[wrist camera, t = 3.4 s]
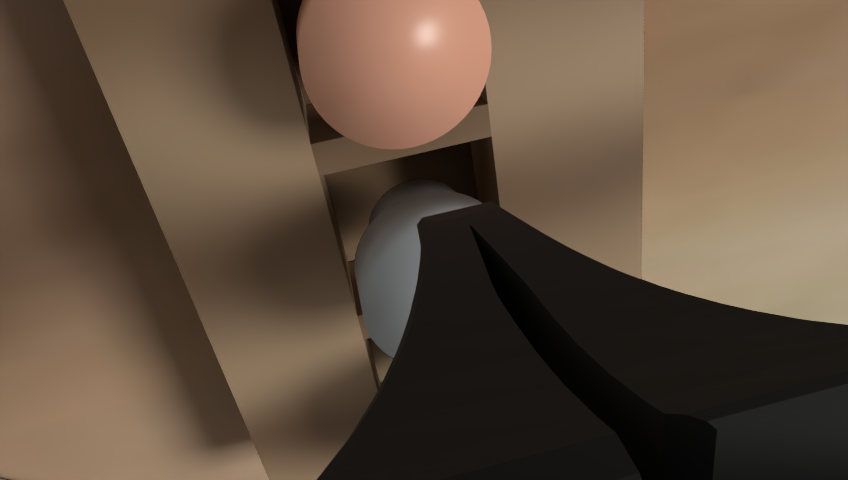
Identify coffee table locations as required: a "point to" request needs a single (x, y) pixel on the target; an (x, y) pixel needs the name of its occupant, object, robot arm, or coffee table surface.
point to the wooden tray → (332, 152)
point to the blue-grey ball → (397, 255)
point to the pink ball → (393, 66)
